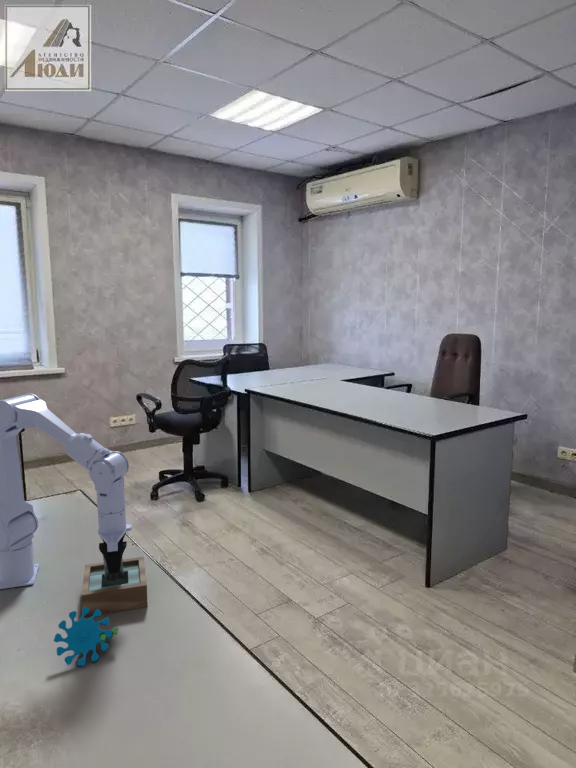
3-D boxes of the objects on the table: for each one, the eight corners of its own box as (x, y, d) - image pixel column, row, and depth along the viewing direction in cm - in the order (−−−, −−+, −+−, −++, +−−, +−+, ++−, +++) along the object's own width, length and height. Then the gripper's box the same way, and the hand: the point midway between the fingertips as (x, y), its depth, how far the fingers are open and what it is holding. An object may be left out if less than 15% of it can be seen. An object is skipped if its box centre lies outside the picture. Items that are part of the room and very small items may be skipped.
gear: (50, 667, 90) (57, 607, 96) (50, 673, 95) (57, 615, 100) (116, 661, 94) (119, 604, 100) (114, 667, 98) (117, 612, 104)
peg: (104, 573, 116) (102, 544, 114) (123, 569, 117) (121, 540, 116) (105, 582, 112) (102, 552, 111) (124, 578, 113) (122, 548, 112)
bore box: (86, 585, 119) (85, 564, 119) (144, 576, 123) (143, 556, 123) (82, 617, 107) (81, 595, 106) (147, 606, 111) (146, 585, 110)
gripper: (131, 520, 106) (134, 581, 109) (130, 495, 120) (132, 549, 122) (95, 524, 104) (98, 586, 106) (97, 498, 118) (100, 554, 120)
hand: (114, 567), depth 114 cm, fingers closed on peg, 4 cm apart
